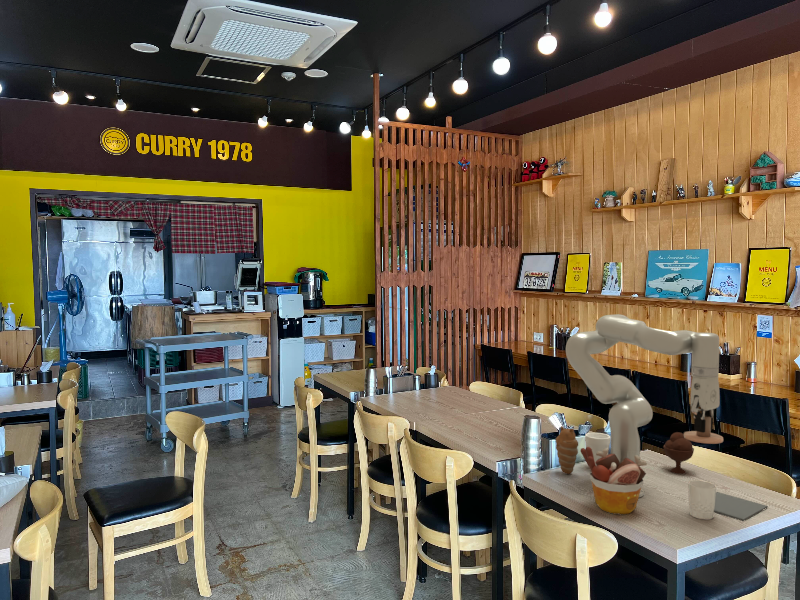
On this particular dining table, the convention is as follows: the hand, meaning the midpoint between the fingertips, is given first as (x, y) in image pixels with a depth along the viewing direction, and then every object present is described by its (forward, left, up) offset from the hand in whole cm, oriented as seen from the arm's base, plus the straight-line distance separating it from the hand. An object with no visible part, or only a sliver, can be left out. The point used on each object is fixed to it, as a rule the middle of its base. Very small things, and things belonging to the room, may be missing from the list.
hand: (703, 429), depth 185 cm
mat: (+15, -2, -27) cm, 31 cm away
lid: (0, 0, -3) cm, 3 cm away
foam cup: (+14, +47, -27) cm, 56 cm away
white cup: (0, 0, -27) cm, 27 cm away
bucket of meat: (-17, +20, -27) cm, 38 cm away
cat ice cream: (-1, +50, -27) cm, 57 cm away
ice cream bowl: (+36, +26, -27) cm, 52 cm away
